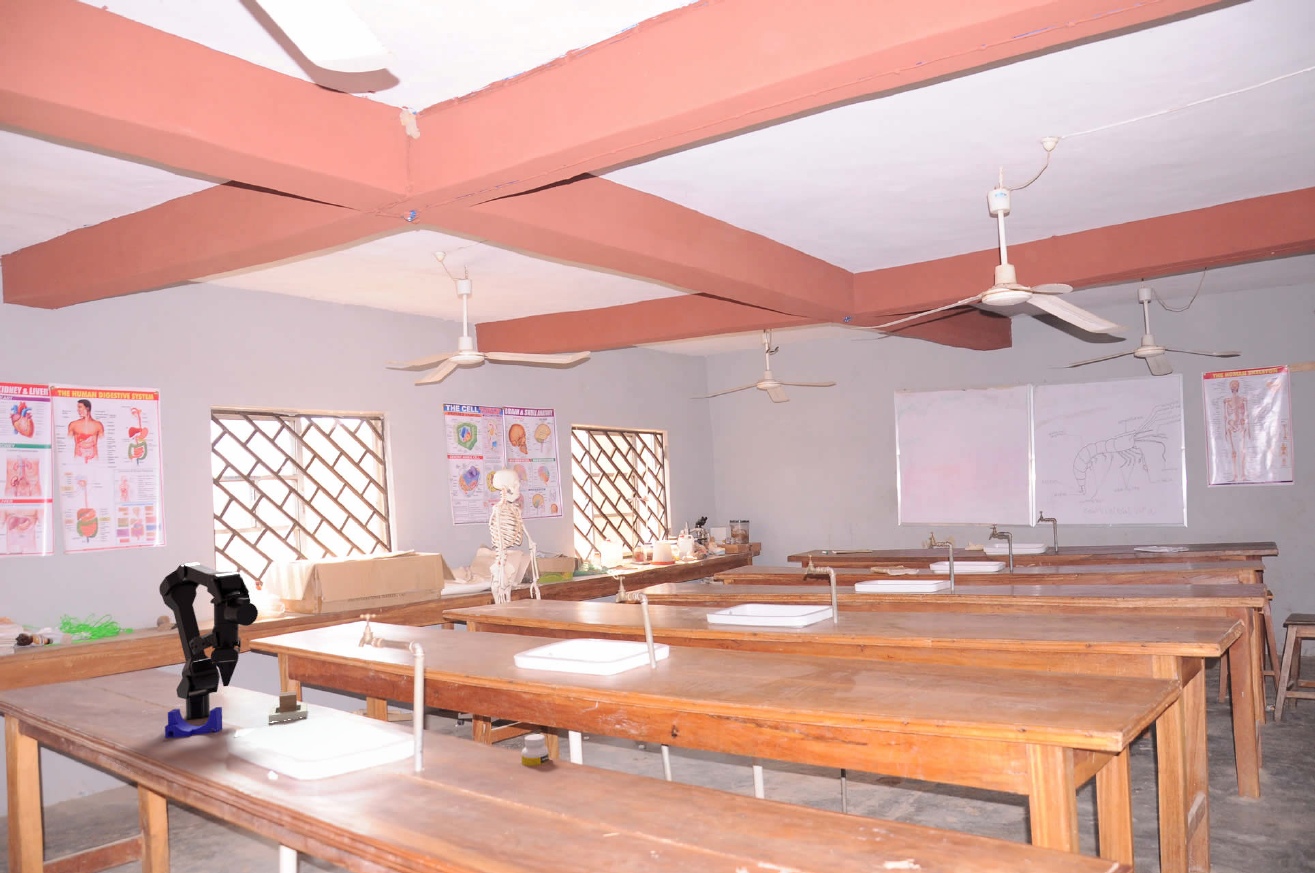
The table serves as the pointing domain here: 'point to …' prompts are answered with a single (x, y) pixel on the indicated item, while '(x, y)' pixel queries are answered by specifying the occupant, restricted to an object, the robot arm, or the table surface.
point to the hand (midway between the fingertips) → (226, 681)
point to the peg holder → (287, 713)
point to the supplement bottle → (534, 750)
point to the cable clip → (183, 729)
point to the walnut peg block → (288, 701)
